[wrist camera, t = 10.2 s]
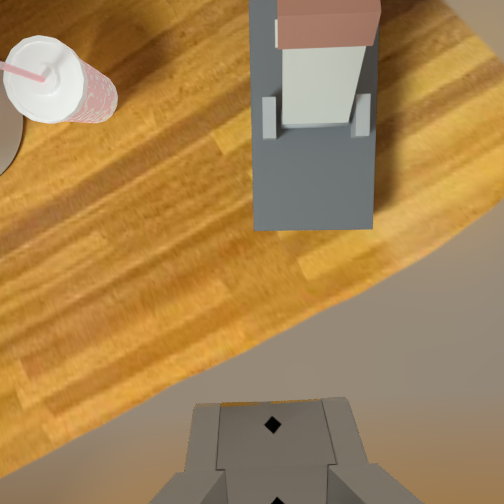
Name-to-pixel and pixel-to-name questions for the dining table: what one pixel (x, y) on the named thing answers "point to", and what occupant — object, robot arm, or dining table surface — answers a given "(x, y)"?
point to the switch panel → (308, 145)
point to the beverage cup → (56, 83)
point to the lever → (322, 58)
